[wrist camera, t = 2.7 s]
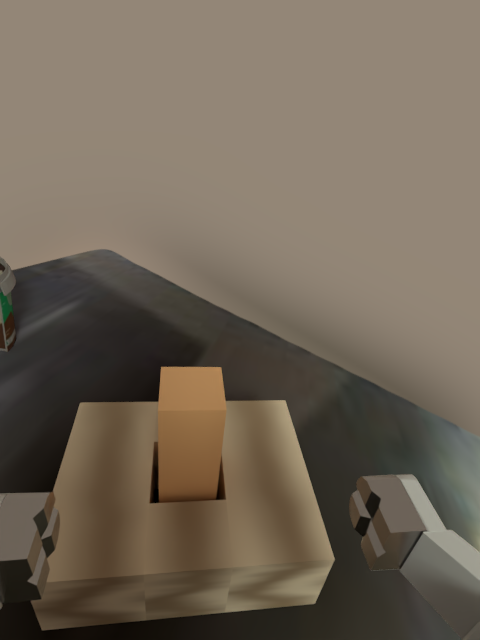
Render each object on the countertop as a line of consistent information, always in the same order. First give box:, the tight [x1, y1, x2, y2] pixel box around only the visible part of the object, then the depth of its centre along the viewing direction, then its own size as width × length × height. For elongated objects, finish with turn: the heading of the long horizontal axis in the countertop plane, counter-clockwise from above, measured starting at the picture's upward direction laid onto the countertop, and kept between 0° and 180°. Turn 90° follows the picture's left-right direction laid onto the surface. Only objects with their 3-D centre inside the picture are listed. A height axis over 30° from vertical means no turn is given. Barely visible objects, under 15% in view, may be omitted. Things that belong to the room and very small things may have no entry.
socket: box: [31, 400, 335, 630], centre depth 30 cm, size 18×14×6 cm
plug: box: [158, 367, 227, 503], centre depth 28 cm, size 4×4×14 cm
